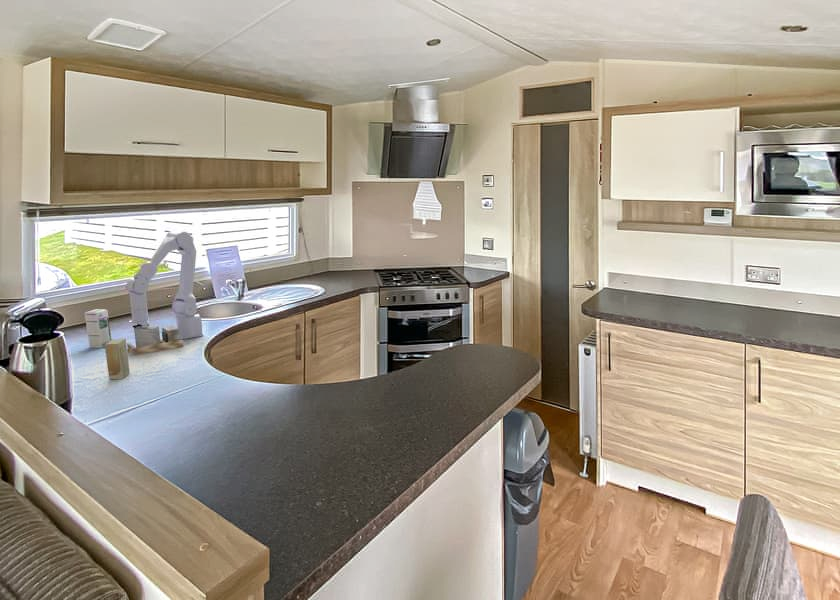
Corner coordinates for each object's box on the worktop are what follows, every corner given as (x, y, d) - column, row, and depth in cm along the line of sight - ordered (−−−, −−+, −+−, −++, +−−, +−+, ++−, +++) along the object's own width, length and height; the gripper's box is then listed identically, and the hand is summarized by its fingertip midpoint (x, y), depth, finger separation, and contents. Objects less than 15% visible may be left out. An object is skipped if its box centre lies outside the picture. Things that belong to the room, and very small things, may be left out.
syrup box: (101, 348, 221) (97, 312, 218) (88, 347, 222) (84, 311, 219) (112, 344, 226) (108, 309, 223) (99, 343, 227) (95, 308, 225)
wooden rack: (176, 341, 230) (174, 324, 228) (183, 346, 222) (181, 329, 221) (124, 349, 218) (122, 332, 216) (131, 355, 210) (129, 337, 209)
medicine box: (161, 347, 220) (159, 326, 219) (154, 350, 216) (152, 328, 214) (143, 346, 222) (140, 325, 220) (135, 349, 217) (133, 328, 216)
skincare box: (117, 374, 189) (112, 338, 186) (130, 373, 189) (126, 338, 187) (108, 380, 182) (103, 343, 180) (122, 379, 183) (117, 343, 180)
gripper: (123, 307, 223) (127, 340, 225) (132, 313, 212) (136, 347, 214) (143, 305, 227) (146, 337, 230) (152, 310, 216) (155, 344, 219)
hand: (142, 342), depth 222 cm, fingers closed
